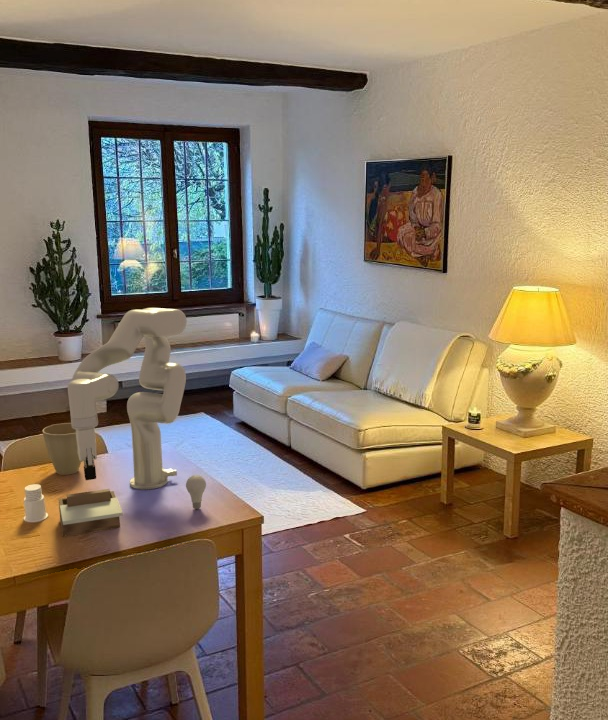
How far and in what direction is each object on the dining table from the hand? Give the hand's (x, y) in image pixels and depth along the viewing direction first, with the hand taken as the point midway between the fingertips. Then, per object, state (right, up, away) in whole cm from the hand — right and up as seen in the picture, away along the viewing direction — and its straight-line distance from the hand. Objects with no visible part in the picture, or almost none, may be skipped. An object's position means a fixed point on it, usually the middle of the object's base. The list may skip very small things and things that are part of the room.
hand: (90, 478), depth 223 cm
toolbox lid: (+4, -8, -13) cm, 15 cm away
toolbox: (+1, -13, -4) cm, 13 cm away
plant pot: (-20, -4, +41) cm, 46 cm away
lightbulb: (+31, -11, +7) cm, 34 cm away
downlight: (-17, -12, +1) cm, 21 cm away
